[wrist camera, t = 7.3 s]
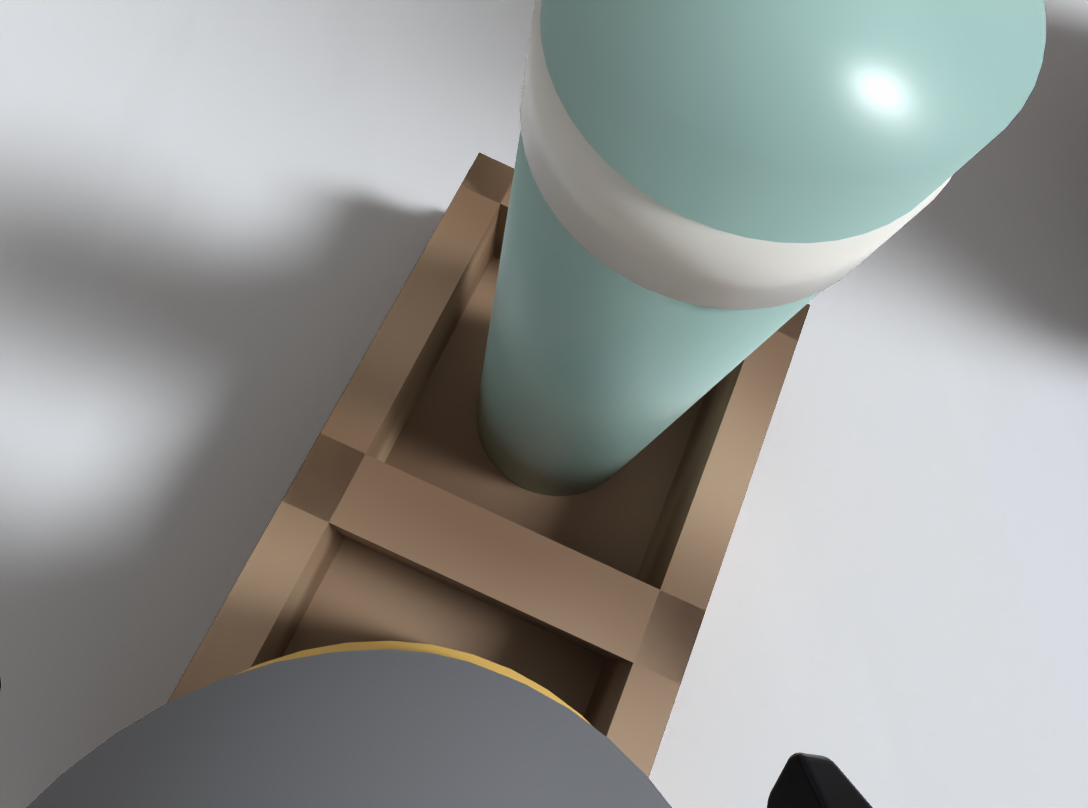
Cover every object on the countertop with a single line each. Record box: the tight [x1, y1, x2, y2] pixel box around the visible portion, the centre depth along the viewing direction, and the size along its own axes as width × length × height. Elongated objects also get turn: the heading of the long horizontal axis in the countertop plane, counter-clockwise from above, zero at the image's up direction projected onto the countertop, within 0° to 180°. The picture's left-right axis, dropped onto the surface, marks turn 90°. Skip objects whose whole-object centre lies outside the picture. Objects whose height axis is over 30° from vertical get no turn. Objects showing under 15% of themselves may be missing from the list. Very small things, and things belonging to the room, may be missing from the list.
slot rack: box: [168, 153, 810, 777], centre depth 16 cm, size 17×9×4 cm, turn 156°
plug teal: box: [476, 0, 1046, 496], centre depth 12 cm, size 4×4×13 cm
